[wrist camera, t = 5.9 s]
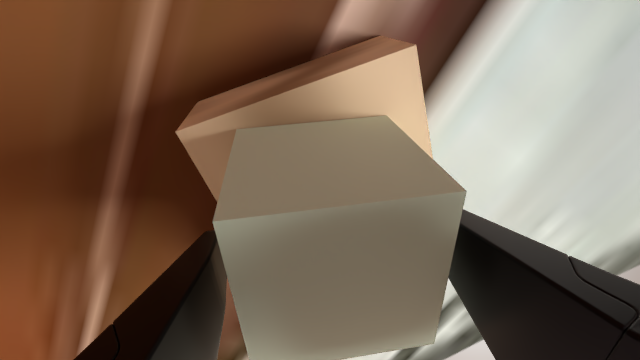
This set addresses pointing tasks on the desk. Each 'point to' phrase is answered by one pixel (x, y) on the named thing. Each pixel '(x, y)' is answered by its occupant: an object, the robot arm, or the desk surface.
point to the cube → (335, 238)
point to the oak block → (312, 101)
